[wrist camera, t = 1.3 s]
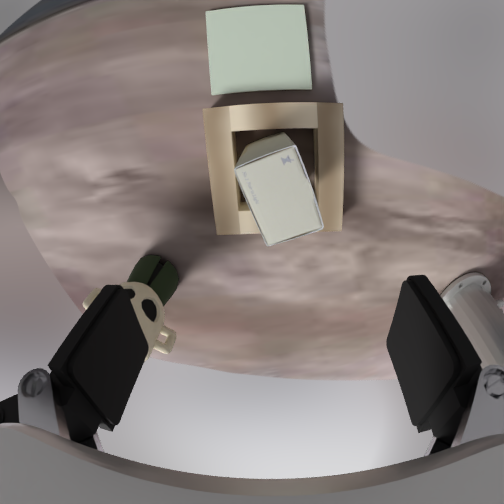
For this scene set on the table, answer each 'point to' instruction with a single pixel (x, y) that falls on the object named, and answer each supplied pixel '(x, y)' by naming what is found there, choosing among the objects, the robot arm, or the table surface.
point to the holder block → (274, 117)
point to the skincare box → (278, 189)
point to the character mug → (150, 299)
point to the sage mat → (258, 49)
